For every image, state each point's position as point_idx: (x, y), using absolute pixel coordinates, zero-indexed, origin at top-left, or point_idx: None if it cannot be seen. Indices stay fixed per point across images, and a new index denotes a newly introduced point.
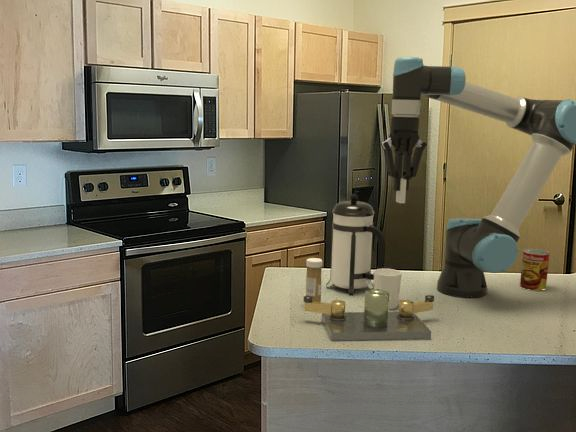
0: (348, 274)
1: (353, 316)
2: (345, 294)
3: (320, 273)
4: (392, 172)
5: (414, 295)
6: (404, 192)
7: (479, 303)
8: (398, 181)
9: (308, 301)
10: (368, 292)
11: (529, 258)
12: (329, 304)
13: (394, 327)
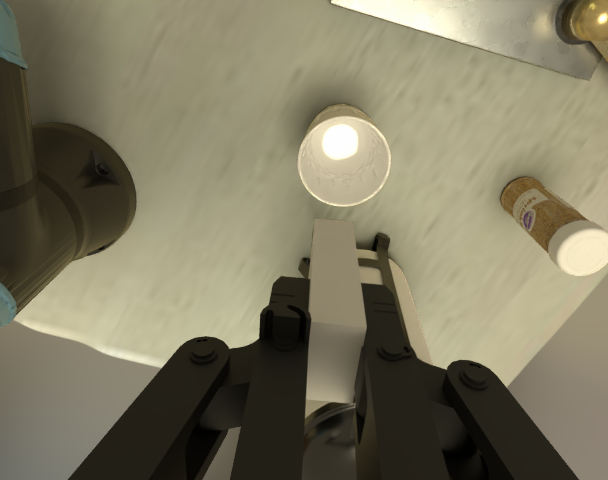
0: (392, 274)
1: (527, 17)
2: (391, 248)
3: (555, 216)
4: (501, 402)
5: (218, 191)
6: (323, 256)
7: (67, 74)
8: (382, 334)
9: None
10: None
11: None
12: None
13: None
